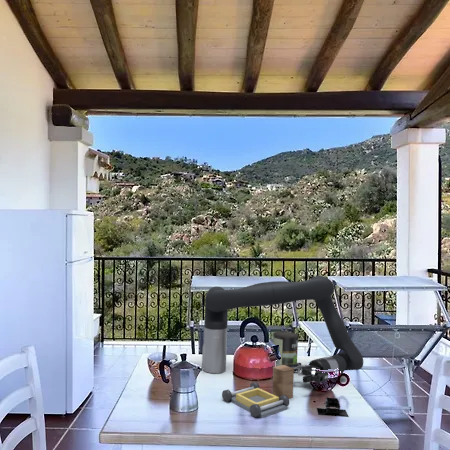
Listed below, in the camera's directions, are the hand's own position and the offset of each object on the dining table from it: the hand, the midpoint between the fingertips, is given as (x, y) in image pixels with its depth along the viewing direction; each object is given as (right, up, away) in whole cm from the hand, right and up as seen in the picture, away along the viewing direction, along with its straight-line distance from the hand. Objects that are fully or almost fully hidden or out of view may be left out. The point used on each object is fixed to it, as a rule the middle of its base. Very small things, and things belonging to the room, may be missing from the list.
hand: (294, 376), depth 154 cm
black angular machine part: (+10, -7, -15) cm, 19 cm away
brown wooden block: (-5, -6, -4) cm, 8 cm away
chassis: (-15, -5, -10) cm, 19 cm away
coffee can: (0, -6, +27) cm, 28 cm away
